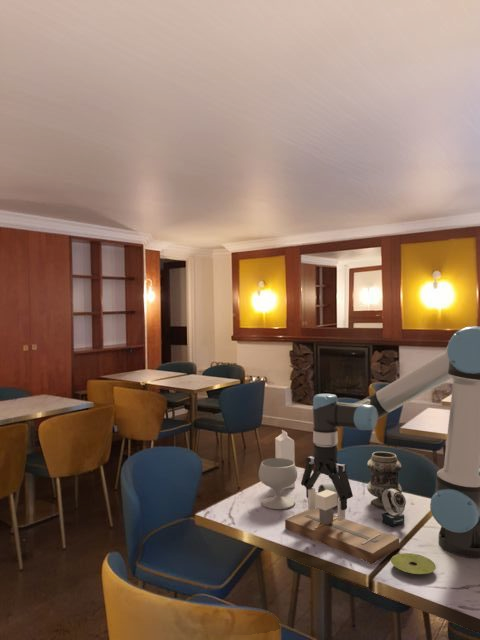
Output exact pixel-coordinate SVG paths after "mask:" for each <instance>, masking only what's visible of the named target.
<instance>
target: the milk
mask: <svg viewBox="0 0 480 640" xmlns="http://www.w3.org/2000/svg"><path fill="white" fill-rule="evenodd" d="M274 439H275V441H274V443H275V444H274V445H275V458H283V459H288V460H291V461H293V462H294V464H295V440H294V439H293V438H291V437H289V436H288V432H287V431H285V430H283V429H281V433H280V434H279V435H278V436H276V437H275V438H274ZM295 483H296V481H295V482H294V483H293V484H292V485H290V486H288V487H286V488H284V489H283V490H286V489H295V487H296V484H295Z"/></svg>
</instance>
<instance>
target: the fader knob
mask: <svg viewBox="0 0 480 640" xmlns="http://www.w3.org/2000/svg"><path fill="white" fill-rule="evenodd" d="M335 507H338V506H337V493H336V492H333V491H330V490H324V491H322V492H319V493H318V492H317V493H315V509H318V510H319V517H320V523H323V524H326V525H328V524H331V523H333V515H334V508H335Z"/></svg>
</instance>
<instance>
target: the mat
mask: <svg viewBox="0 0 480 640" xmlns="http://www.w3.org/2000/svg"><path fill="white" fill-rule="evenodd" d="M390 563H391V564H392V565H393V566H394V568H396V569H398V570H400V571H403V572H405V573H410V574H413V575H425V574H426V575H427V574H430V573H432V572H434V571H435V570H436V563H435V562H434V561H433V560H432V559H430V558H428V557H427V556H424V555H421V554H418V553H407V552H403V553H401V552H400V553H398V554H395V555H393V556H392V557H391V558H390Z"/></svg>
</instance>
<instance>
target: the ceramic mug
mask: <svg viewBox="0 0 480 640" xmlns="http://www.w3.org/2000/svg"><path fill="white" fill-rule="evenodd" d="M324 490H330V491H333V492H336V493H337V491H336V489H335V486H334V484H333V483H331V484H329V483H326V484H325V483H322V484H320V485H319V486H318V489H317V493H319V492H322V491H324ZM339 498H340V497H339V495H338V493H337V506H336V507H338V499H339Z"/></svg>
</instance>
